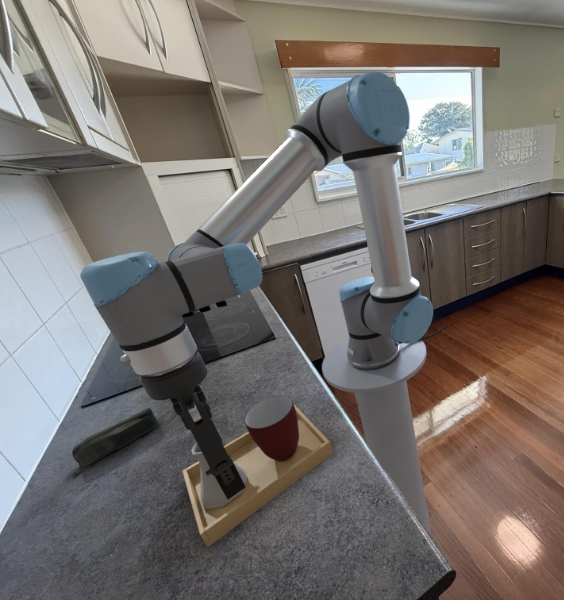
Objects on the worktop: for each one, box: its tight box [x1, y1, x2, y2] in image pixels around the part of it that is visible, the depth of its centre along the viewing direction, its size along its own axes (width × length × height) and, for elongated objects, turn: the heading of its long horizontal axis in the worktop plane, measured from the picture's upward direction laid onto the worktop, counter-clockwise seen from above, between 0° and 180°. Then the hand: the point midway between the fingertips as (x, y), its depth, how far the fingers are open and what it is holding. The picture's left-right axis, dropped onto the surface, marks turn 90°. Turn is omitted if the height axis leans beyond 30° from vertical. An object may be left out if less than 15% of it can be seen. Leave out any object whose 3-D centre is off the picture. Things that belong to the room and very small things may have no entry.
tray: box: [181, 404, 334, 548], centre depth 56 cm, size 21×15×3 cm
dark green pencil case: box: [70, 407, 159, 475], centre depth 66 cm, size 5×3×15 cm
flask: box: [190, 442, 247, 510], centre depth 51 cm, size 7×7×10 cm
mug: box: [244, 394, 299, 461], centre depth 57 cm, size 11×8×10 cm
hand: (224, 466), depth 53 cm, fingers open, 13 cm apart
